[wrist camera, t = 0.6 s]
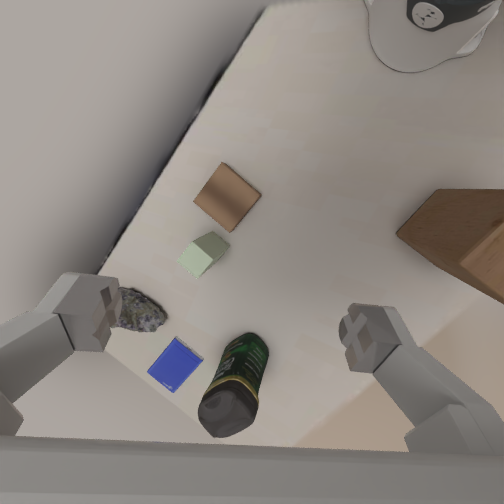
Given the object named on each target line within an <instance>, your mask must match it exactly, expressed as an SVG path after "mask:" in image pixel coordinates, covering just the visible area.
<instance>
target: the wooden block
mask: <svg viewBox="0 0 504 504" xmlns="http://www.w3.org/2000/svg"><path fill="white" fill-rule="evenodd" d="M396 235H397V236H398V237H399V238H400V239H402V240H403V241H404V242H406V243H407V244H408V245H410V246H411V247H412V248H413V249H415V250H416V251H417V252H419V253H420V254H421V255H422V256H424V257H425V258H426V259H428V260H429V261H430V262H432V263H433V264H434V265H435V266H437V267H438V268H440V269H442V270H444V271H446V272H447V273H449V274H451V275H453V276H454V277H456V278H458V279H460V280H462V281H463V282H465V283H467V284H469V285H470V286H472V287H474V288H476V289H477V290H479V291H481V292H483V293H485V294H486V295H488V296H490V297H492V298H493V299H496V300H497V301H499V302H501V303H502V304H504V189H438V190H436V191H435V193H434V194H433V195H432V196H431V197H430V198H429V199H428V200H427V201H426V202H425V203H424V204H423V205H422V206H421V207H420V208H419V209H418V210H417V212H416V213H415V214H414V215H413V216H412V217H411V218H410V219H409V220H408V221H407V222H406V223H405V224H404V225H403V226H402V227H401V228H400V230H399V231H398V232H397V233H396Z"/></svg>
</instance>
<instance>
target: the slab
mask: <svg viewBox="0 0 504 504" xmlns="http://www.w3.org/2000/svg"><path fill="white" fill-rule="evenodd" d="M260 197H261V194H260V193H259V192H258V191H257V190H256V189H254V188H253V187H252V186H251V185H250V184H249V183H247V182H246V181H245V180H244V179H243V178H242V177H240V176H239V175H238V174H237V173H236V172H235V171H234V170H232V169H231V168H230V167H229V166H228V165H227V164H225V163H222V162H221V164H220V165H219V167H218V168H217V169H216V171H215V172H214V173H213V175H212V176H211V178H210V179H209V180H208V182H207V183H206V184H205V186H204V187H203V189H202V190H201V191H200V193H199V194H198V195H197V197H196V198H195V200H194V201H193V202H194V203H195V204H197V205H198V206H199V207H200V208H201V209H202V210H204V211H205V212H206V213H207V214H208V215H209V216H211V217H212V218H213V219H214V220H215V221H216V222H218V223H219V224H220V225H221V226H222V227H223V228H225V229H226V230H227V231H228V232H229V233H230V232H231V231H233V230H234V229H235V227H236V226H237V225H238V224H239V222H240V221H241V220H242V219H243V217H244V216H245V215H246V214H247V213H248V211H249V210H250V209H251V208H252V206H253V205H254V204H255V203H256V202H257V200H258V199H259V198H260Z"/></svg>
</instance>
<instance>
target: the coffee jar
mask: <svg viewBox="0 0 504 504" xmlns="http://www.w3.org/2000/svg"><path fill="white" fill-rule="evenodd" d="M268 356H269V352H268V349H267V347H266V345H265V344H264V343H263V341H262V340H261V339H260V338H259V337H257V336H256V335H254V334H245V335H243V336H240V337H239V338H237V339H235V340H234V341H232V342H231V343H230V344H229V345H228V346H227V347H226V348H225V350H224V353H223V355H222V358H221V361H220V364H219V366H218V369H217V371H216V374H215V376H214V378H213V380H212V382H211V384H210V386H209V387H208V389H207V390H206V392H205V393H204V395H203V397H202V400H201V403H200V405H199V408H198V417H199V421H200V423H201V424H202V425H203V427H204V428H205V429H206V430H207V431H208V432H209V434H210V435H212V436H213V437H214V438H215V437H218V438H224V437H229V436H231V435H234V434H236V433H238V432H240V431H242V430H244V429H245V428H247V427H249V426H250V425H251V424H252V423H253V422H254V420H255V417H256V414H257V410H258V406H259V399H258V392H259V388H260V384H261V381H262V377H263V373H264V370H265V367H266V364H267V360H268Z"/></svg>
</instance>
